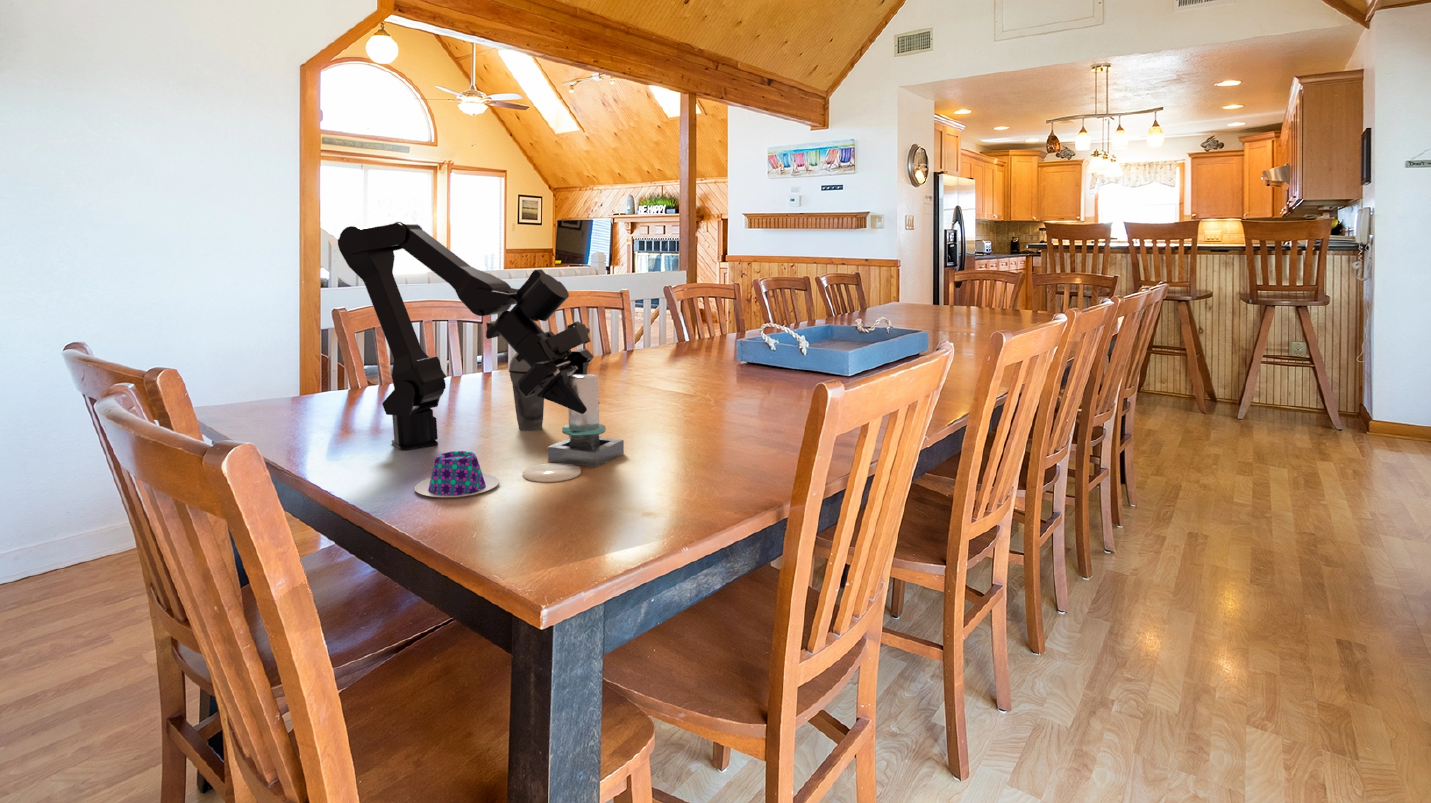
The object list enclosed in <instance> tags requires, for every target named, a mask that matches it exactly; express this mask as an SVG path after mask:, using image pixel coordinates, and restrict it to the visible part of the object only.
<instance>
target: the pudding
mask: <svg viewBox="0 0 1431 803" xmlns="http://www.w3.org/2000/svg"><path fill="white" fill-rule="evenodd" d="M499 484H500V479H499V478H498V477H497V476H495V475H492V474H489V473H488V474H487V473H483V472H482V470H481V466H480V462H479V459H478V457H477V455H476V453H475V452H473V451H467V450H457V451H455V450H454V451H453V450H452V451H448V452H442V453H440V454H438V456H436V457H435V459H434V461H433V465H432V469H431V476H430V478H426V479H424V480H422V481H420V482H418V483H417V484H416V485H415V486H414V491H415V492H416V493H418V494H420V495H423V496H427V497H433V498H460V497H467V496H473V495H477V494H481V493H485V492H487V491H489V490H490V491H491V490H492V489H495V488H496V487H497V486H498V485H499Z"/></svg>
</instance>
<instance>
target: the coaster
mask: <svg viewBox="0 0 1431 803" xmlns="http://www.w3.org/2000/svg"><path fill="white" fill-rule="evenodd" d="M581 470H582V469H581V467H580V466H579V465H572V464H565V463H557V462H551V463H549V462H548V463H543V464H542V463H541V464H536V465H533V466H529V467H527V468H525V469H524V470H522V477H523V478H524V479H526V480H527V481H531V482H538V483H554V482H564V481H569V480H573V479H575V478H578V476H580V475H581V473H582V471H581Z"/></svg>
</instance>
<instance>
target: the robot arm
mask: <svg viewBox="0 0 1431 803" xmlns="http://www.w3.org/2000/svg"><path fill="white" fill-rule="evenodd" d="M337 246H338V250H339V251H340V254H341V256H342V257H343V259H344V261H345V262H346V264H347V266H348V268H349V269H351V271H353V272H354V274H356V275H357V276H358V277H359V278H360V279H361V280H362V282H363V283H364V286H365V289H366V291H367V294H368V296H369V298H370V301H371V303H372V304H371V305H372V306H373V309H374V311H375V314H376V317H377V319H378V322H379V324H380V327H381V329H382V332H383V335H384V338H385V339H386V340H385V341H386V342H387V343H386V344H387V345H388V347H389V350H390V352H391V355H392V359H393V362H392V363H393V364H392V370H391V381H392V384H393V388H394V389H393V390H392V392H390V394H389V395H388V396H387V397H386V399H384V401H383V402H382V407H383V410H384V412H385V414H386V415H388V416H392V427H393V439H392V440H391V444H393V446H395V447H397V449H399V450H400V451H403V450H411V449H416V448H424V447H431V446H438V445H439V441H437V440H438V439H439V438H438V425H437V424H438V422H437V417H436V416H435V415H434V410H433V408H438V406H439V402H440V399H441V397H442V396H443V394H444V392H445V389H446V381H445V379H446V378H447V375H446V374H445V372H444V371H443V368H442V365H441V361H440V358H439V357H438V356H437V355H436V356H431V357H429V356H428V355H427V353H426V352H424V351H423V349H422V347H421V345H420V342H419V339H418V336H417V334H416V331H415V328H414V326H413V324H412V321H411V319H410V318H411V317H410V315H409V313H408V310H407V308H406V305H405V303H404V300H403V297H402V295H401V291H400V290H399V286H398V284H397V282H396V278H395V276H394V273H393V271H394V263H395V254H394V252H396V251H400V250H404V251H406V253H408V254H409V255H411V256H412V257H413V258H414V259H416V260H418V261H419V262H420V263H421V264H422V265H424V266H425V267H426V268H428V269H429V270H430V271H432V272H433V273H434V274H436V275H437V276H438V277H440V278H441V279H442V280H443V281H444V282H446V283H447V284H449V285H450V286H451V287H452V288H453V290H454V292H455V293H456V296H457V298H458V299H459V301H461V302H462V304H463V305H464V306H465V307H466V308H467V309H468V310H469V311H470V312H471V313H472V314H474V315H476V316H479V317H485V316H486V317H487V316H491V315H498V314H500V315H499V316H498V317H497V318H496V319H495V320H493V321H488V322H486V330H485V339H487V340H490V339H494V338H499V337H502V338H503V339H504V341H505V342H506V343H507V344H508V345H509V346H510V347H511V349H513V350H514V351H515V354H516V353H517V354H518V355H517V356H516V357H515V358H516V359H517V361H518V362H522V361H525V362H526V364H527V365H528V366H529V367H530V369H529V370H528V371H527V372H526V373H525V374H524V375H523V377H522V378H521V379H520V380H519V381H518V391H519V392H520V393H521V394H522V395H523V396H524V397H525V398H528V397H530V396H533V395H534V394H535V389H536V388H537V386H538V385H540V386H539V387H540V389H541V391H540V392H539V394H538V395H537V397H539V398H540V397H541V398H544V400H547V401H550V402H553V403H554V404H557V405H560V406H562V407H565V408H566V409H568V408H569V409H571V410H574V411H576V412H578V413H581V414H584V413H585V412H586V411H587V408H586V407H585V405H584V404H583V402H582V401H581V399H580V398H579V397H578V395H577V394H576V393H575V391H574V390H573V388H572V387H571V386H570V384H569V383H568V376H569V375H575V374H588V367H589V366H590V362H591V361H593V359H594V357H595V356H594V355H593V354H592V353H591V352H590V351H589V350H588V349H587V348H585V349H584V348H579V349H576V350H573V351H572V349H574V348H576V347H578V346H579V347H580V346H581V345H582V344H583V345H586V344H588V343H591V342H592V341H591V339H590V335H589V334H590V330H591V329H590V328H588V327H587V326H586V325H585V323H581V322H580V321H579V320H577V321H573V323H570V324H568V325H567V328H566V329H564V330H562V331H560V332H558V333H556V334H555V333H554V332H553V331H547V332H545V331H544V329H542V328H541V327H540V325H539V324H538V323H537V322H539V321H542V322H546V321H548V320H549V319H550V317H552V316H553V315H554V314H555V312H556V311H557V310H558V309H559V308H560V307H561V306H562V305H563V304H564V302H565V301H566V300H568V298H569V296H570V294H569V292H568V289H567V288H566V286H565V285H564V284H563V283H562V282H561V281H558V280H557V279H556V278H555V277H554V276H552V275H549V274H547V273H546V272H545V271H544V270H543V269H541V268H540V269H538V268H537V269H534V270H533V271H532V273H531V274H530V275H529V277H528V279H527V280H525V282H524V283H523V284H522V286H520V287H519V288H514V287H511V286H510V285H509V283H507V281H505V280H502V279H501V278H499V277H496V276H495V275H493V274H490V273H488V272H486V271H483V270H480V269H477V268H475V267H473V266H471V265H470V264H469V263H467V262H466V261H464V260H463V259H462V258H461V257H459V256H458V255H457V254H455V253H454V252H453V251H451V250H450V249H449V248H448V247H446V246H445V245H444V244H442V243H440V241H439V240H436V239H435V237H433V236H432V235H430V234H429V233H428V232H426V231H425V230H424V229H423V228H422V226H420V225H419V224H418V223H417V222H413V221H412V222H411V221H410V222H409V221H396V222H394V223H389V224H385V225H381V226H357V225H356V226H355V225H351V226H347V227H346V228H344V229H343V230H342V231H341V232H340V235H339V238H338V239H337ZM512 305H514V306H513V307H512ZM511 307H512V308H511ZM510 308H511V310H509V309H510Z"/></svg>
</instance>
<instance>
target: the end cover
mask: <svg viewBox="0 0 1431 803" xmlns="http://www.w3.org/2000/svg"><path fill="white" fill-rule="evenodd" d="M568 383H569V384H570V386H571V387H572V388H573V390H574V391H575V393H576V394H577V395H578V397H579V398H580V399H581V401H582V402H583V404H584V405H585V407H586V408H587V411H586V412H585V413H584V414H581V413H578V412H576V411H574V410H571V409H569V408H567V409H568V410H567V411H568V424H566V425H564V426H562V429H561V430H562V431H561V432H562V433H563V434H565V435H567V436H568V438H569V447H576V448H584V449H595V448H597V447H599V437H600V435H602V434H604V433H606V430H607V428H606V425H604V424H602V423H600V406H599V405H600V401H599V400H600V399H599V395H600V394H599V375H598V374H594V373H593V374H592V373H587V374H575V375H569V376H568Z"/></svg>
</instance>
